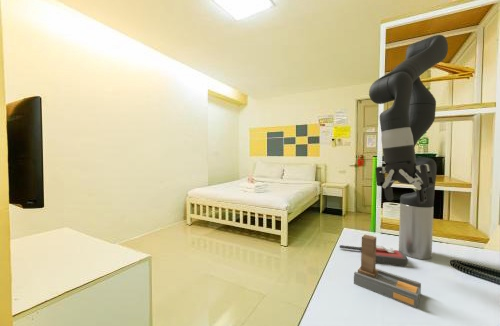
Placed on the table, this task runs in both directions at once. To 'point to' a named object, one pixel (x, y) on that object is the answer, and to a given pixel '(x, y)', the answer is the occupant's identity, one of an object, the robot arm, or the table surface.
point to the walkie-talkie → (385, 255)
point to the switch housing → (391, 286)
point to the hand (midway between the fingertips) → (404, 201)
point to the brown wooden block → (368, 257)
